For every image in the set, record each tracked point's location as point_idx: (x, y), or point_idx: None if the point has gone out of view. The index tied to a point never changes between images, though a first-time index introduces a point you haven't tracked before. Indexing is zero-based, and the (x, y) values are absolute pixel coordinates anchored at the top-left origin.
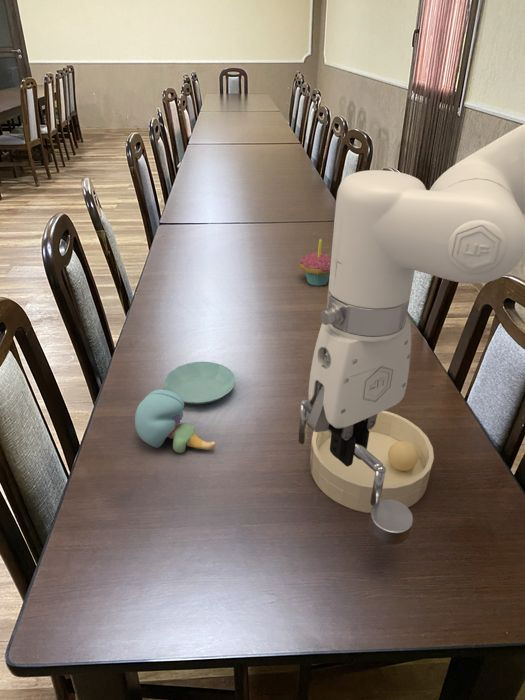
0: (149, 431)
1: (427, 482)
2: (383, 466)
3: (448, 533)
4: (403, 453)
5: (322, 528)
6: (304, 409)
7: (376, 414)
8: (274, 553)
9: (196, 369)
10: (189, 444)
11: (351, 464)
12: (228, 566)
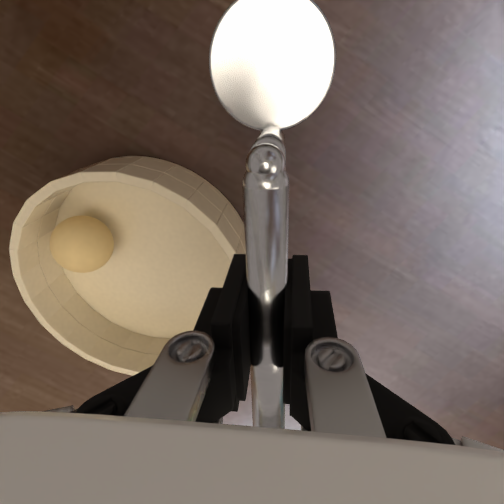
0: None
1: (74, 171)
2: (257, 162)
3: (105, 62)
4: (81, 243)
5: (307, 204)
6: None
7: (146, 386)
8: (414, 208)
9: None
10: None
11: (294, 255)
12: (494, 228)
